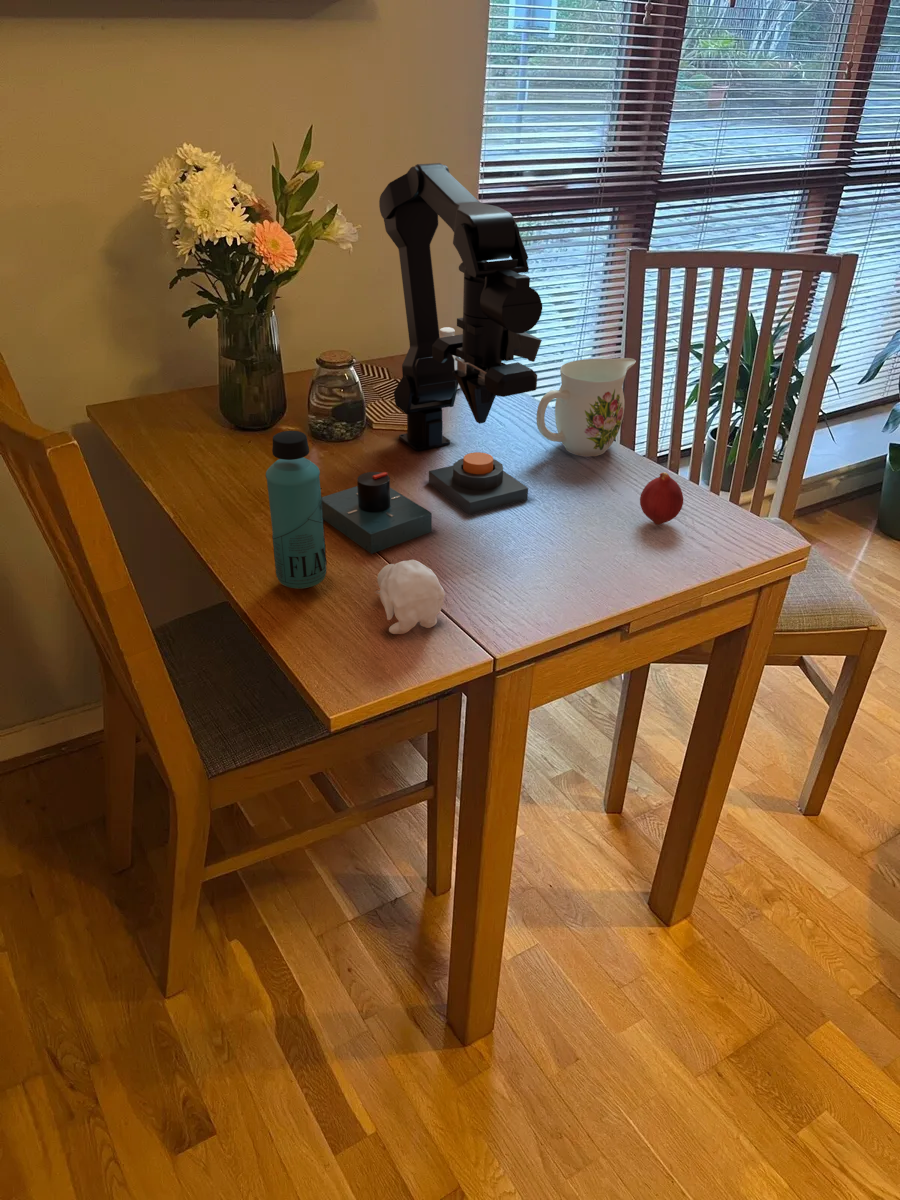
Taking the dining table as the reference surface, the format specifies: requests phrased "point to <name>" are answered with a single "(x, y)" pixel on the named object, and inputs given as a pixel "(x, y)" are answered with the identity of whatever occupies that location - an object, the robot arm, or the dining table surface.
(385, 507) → the dial
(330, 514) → the dial console
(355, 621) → the dining table surface
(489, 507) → the button base
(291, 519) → the beverage bottle
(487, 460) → the button
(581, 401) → the pitcher
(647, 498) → the onion
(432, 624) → the white lumpy figure
